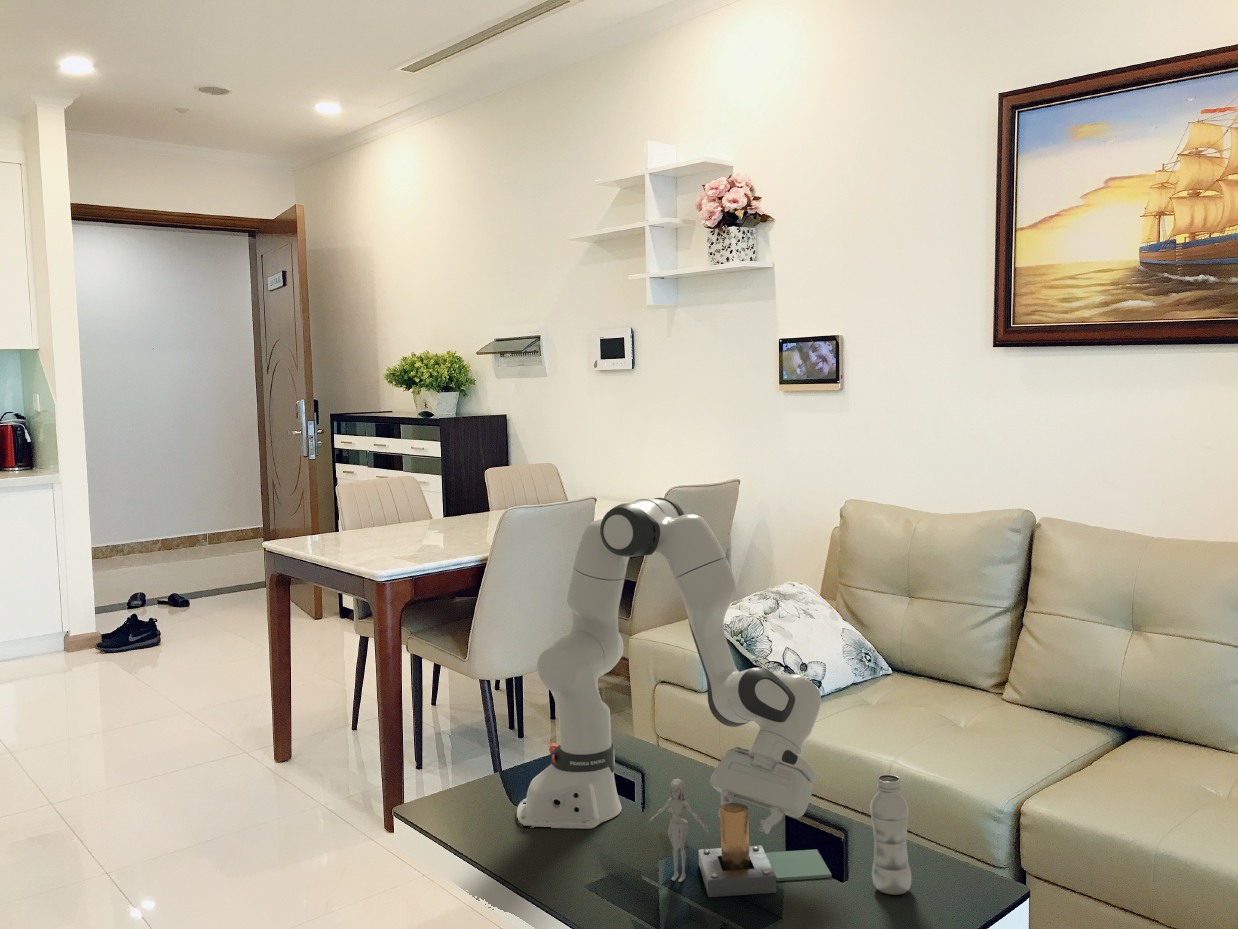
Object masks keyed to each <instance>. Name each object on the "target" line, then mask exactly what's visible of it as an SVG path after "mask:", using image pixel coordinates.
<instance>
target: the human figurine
mask: <svg viewBox="0 0 1238 929" xmlns="http://www.w3.org/2000/svg"><path fill="white" fill-rule="evenodd" d="M669 793H670V798H668V799H667V801H666V803H665V804H664V806H663V807H662V808H659V809H658V811H657V812H656V814H654V815H653V816H652V817H651V818H650V819H649V821H648V822H647V823H651V822H652V821H653V820H654V819H655V818H656V817H657V816H659V815H660V814H661V813H662V814H663V812H664V811H665V810H666V808H668V812H669V813H670V814H671V816H672V817H671V818H670V820H669V825H668V829H667V833H668V835H667V836H668V838H669V841H670V843H671V848H672V850H671V853H672V856H673V857H672V858H673V868H674V869H673V871H674V872H673V876H672V877H671V881H674V882H675V881H677V879H678V877H679V872H678V869H679V868H678V864H679V852H680V856H681V869H682V870H681V874H680V877H679V879H678V882H679V883H682V882H683V881H684V880H685V879H686V861H687V860H686V851H685V845H686V842H687V837H688V830H689V824H688V820H686V819H685V818H682V813H683V812H685V811H684V810H686V811H688V812H689V813H690V815H692V817H693V818H694V820H696V822H698V823H699V824H700V825H701V827H702V830H703V831H704V830H705V831H706V833H707V834H709V833H710V828H709V827H708V826H707V825H706V824H705V823H703V821H702V820H701V819H700V817H699V815H698V814H697V813H694V812H693V809H692V808H691V807H690V804H689V802H688V801H687V798H686V785H685V782H684V780H682V779H680V778H674V779H671V781H670V791H669ZM679 849H680V851H679Z"/></svg>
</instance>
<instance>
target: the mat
mask: <svg viewBox="0 0 1238 929" xmlns="http://www.w3.org/2000/svg"><path fill="white" fill-rule="evenodd" d="M765 854H766V856H767V858H768V860H769V862H770V865H771V867H772V869H773V871H774V873H775V876H776V882H783V881H797V880H798V881H799V880H800V881H801V880H813V879H814V880H815V879H817V880H818V879H829V878H830V879H832V873H831V871H830V869H829V868H828V866H827V864H826V862H825V861H824V859H823V857H822V855H821V854H820V852H819V850H818V848H817V849H803V850H802V849H800V850H786V851H785V850H784V851H771V852H765Z"/></svg>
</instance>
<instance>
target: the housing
mask: <svg viewBox="0 0 1238 929" xmlns="http://www.w3.org/2000/svg"><path fill="white" fill-rule="evenodd" d="M697 852H698V866H699V870H700V873H701V877H702V879H703V883H704V887H705V889H706V893H707V897H708V898H714V897H715V898H716V897H717V898H718V897H728V896H729V897H730V896H733V897H734V896H745V895H748V896H749V895H758V894H772V893H773V894H775V893H777V880H776V876H775V873H774V871H773V869H772V867H771V865H770V862H769V860H768V858H767V856H766V854H765V853H766V852H765V850H764V848H763V845H749V857H750V869H744V870H729V871H722V849H721V847H720V848H719V847H717V848H702V849H698V851H697Z"/></svg>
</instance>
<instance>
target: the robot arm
mask: <svg viewBox="0 0 1238 929" xmlns="http://www.w3.org/2000/svg"><path fill="white" fill-rule="evenodd" d="M583 532H584V533H583V534H582V535H581V536H582V537H581V538H580V542H579V545H578V549H577V551H576V555H575V560H574V563H573V569H572V574H571V579H570V583H569V587H568V588H569V590H568V594H567V600H566V601H567V605H568V607H569V608H570V609H571V611H572V612H571V613H572V628H571V630H570V632H569V634H567V635H565V636H563V637H560V638H558V639H555V640H554V641H553V642H551V643H550V644H549V645H548V646H547V647H546V648H545V649H544V650H543V651H542V652H541V654H540V655H539V657H538V659H537V665H536V668H537V676H538V678H539V680H540V681H541V683H542V685H543V686H544V687H545V688H546V689H548V690H549V691H550V692H551V694H552V696H553V700H554V702H555V706H556V710H557V716H558V730H559V733H558V734H559V745H558V744H557V743H555V742H552V743H551V744H550V745H549V747H548V752H549V753H550V765H548V766H546V768H545V769H544V770H542V771H541V772H540V773H539V774H536V775H535V777H533V778H532V780H531V781H530V783H529V786H528V789H527V792H526V797H525V798H523V799H522V800H520V802H519V804H518V805H517V808H516V819H517V818H518V820H519V821H520V822H521V823H522V824H523V825H532V826H542V827H543V826H544V827H551V828H550V829H582V830H583V829H587V830H588V829H589V830H590V829H594V828H596V827H597V826H598V825H600V824H601V823H604V822H607V821H608V820H611V819H613V818H615V817H616V816H618V815H619V814H621V812H622V804H621V801H620V797H619V795H618V791H617V786H616V779H615V772H614V771H615V766H616V762H615V760H616V759H615V758H616V757H615V749H614V743H613V742H612V729H611V728H612V727H611V726H612V725H611V711H610V710H611V709H610V707H609V705H608V704H606V702H604V701H603V699H602V696H601V695H600V691H599V685H598V681H599V678H601V677H602V676H604V675H606V674H607V673H609V672H611V670H612V669H614V667H615V666H616V665H617V664H618V663H619V661H620V660H621V659H622V657H623V654H624V651H625V650H624V647H625V646H624V640H623V638H622V635H621V633H620V632H619V631H620V630H619V612H620V603H621V599H622V594H623V588H624V584H625V579H626V574H627V570H628V569H627V568H628V564H629V560H630V558H635V557H644V556H651V555H653V554H654V553H655V554H659V555H660V556H662V557H663V558H664V559H665V561H666V562H667V564H668V566H669V568H670V570H671V574H672V575H673V578H674V582H675V583H676V586H677V588H678V590H679V593H680V596H681V598H682V602H683V604H684V609H685V611H686V616H687V620H688V625H689V628H690V629H689V630H690V631H691V636H692V638H693V642H694V644H695V648H696V651H697V654H698V657H699V660H700V663H701V665H702V668H703V672H704V675H705V679H706V685H707V688H706V690H707V704H708V707H709V709H710V712H711V714H712V716H713V717H714V718H715V719H716V720H717V722H719V723H721V724H723V725H724V726H727V727H731V728H735V727H737V728H738V727H741V726H744V725H747V724H749V723H751V722H754V723H755V724H757V725H758V726H759V731H758V732H757V734H756V736H755V739H754V741H753V742H752V744H751V747H750V749H748V748H747V749H746V748H743V747H740V746H735V747H732V748H730V749H728V750H727V751H726V752H725V755H724V756H723V757H722V759H721V760H720V761H719V763H718V764H717V766H716V768H715V769H714V771H713V772H712V775H711V776H710V779H709V780H710V785H711V786H712V787H713V788H714V789H715V790H716V791H717V792H718V793H719V794H720V796H719V797H720V798H719V799H720V807H721V806H722V805H724V804H728V803H733V799H734V798H735V799H739V800H741V801H744V802H748V803H749V804H753V805H757V806H759V807H762V808H765V809H767V810H769V811H770V813H771V814H769V815H768V816H767V817H766V818H765V819H760V822H759V824H758V826H757V829H758V831H759V832H760V833H763V834H766V835H769V834H770V832H771V830H772V828H773V827H774V826H775V825H776V824H777V823H778V822H780V821H782V819H783V816H784V815H786V816H789V817H792V818H795V819H799V818H801V817H803V815H804V814H805V813H806V812H807V808H808V806H809V804H810V801H811V798H812V795H813V784H814V783H815V782H816V780H817V779H818V774H817V772H816V770H815V769H814V768H813V767H812V766H811V764H809V763H808V762H807V760H806V759H805V758H803V757H802V756H801V755H802V753H803V748H804V747H803V746H804V743H805V741H806V739H807V738H808V737H809V736H810V735H811V732H812V731H813V728H814V726H815V724H816V721H817V718H818V715H819V712H820V708H821V703H822V697H821V696H822V695H821V692H820V690H819V689H818V687H817V686H816V685H815V684H814V683H813V681H811V680H810V679H808V678H806V677H805V676H803V675H800V674H796V673H793V674H781V673H776V672H774V671H771V670H769V669H766V668H763V667H752V668H748V669H744V670H741V671H740V670H738V669H737V666H736V665H735V664H736V663H735V662H734V658H733V655H732V652H731V649H730V646H729V643H728V640H727V637H726V635H725V634H726V633H725V629H724V622H725V616H726V614H727V612H728V610H729V607H730V605H731V604H732V602H733V600H734V597H735V593H736V589H737V587H736V583H735V577H734V572H733V571H732V568H731V565H730V563H729V561H728V558H727V556H726V554H725V552H724V550H723V547H722V545H721V544H720V542H719V539H718V538H717V536H716V534H715V533H714V531H713V530H712V528H711V527H710V526H709V524H708V523H707V521H706V519H704V517H702V516H700V515H697V514H692V513H688V514H687V513H686V514H685V512H684V511H683V509H682V508H681V506H680V505H679V504H677V502H675V501H673V500H671V499H668V498H662V497H654V498H641V499H637V500H634V501H631V502H628V503H621V504H619V505H618V504H617V505H615V506H614V507H613V508H610V510H608V511H607V512H606V513H605V515H604V516H603V518H602V519H596V520H593V521H591V522H590V523H589V524H588V525H587V526H586V528H585V529H584V531H583ZM523 803H526V804H523ZM717 815H718V817H720V808H719V809H718V812H717Z"/></svg>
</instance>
